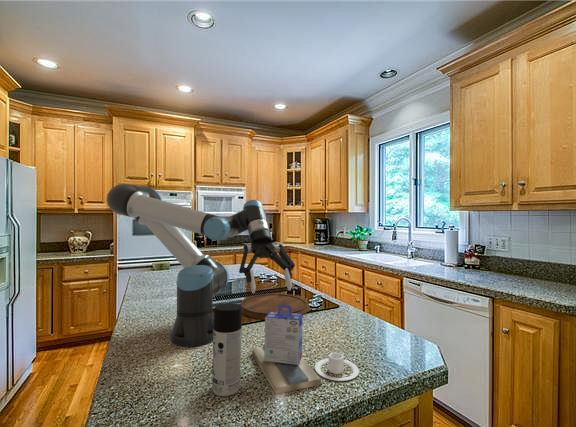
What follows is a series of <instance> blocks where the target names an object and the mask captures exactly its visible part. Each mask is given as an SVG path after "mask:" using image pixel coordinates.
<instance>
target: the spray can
mask: <svg viewBox="0 0 576 427" xmlns="http://www.w3.org/2000/svg"><path fill="white" fill-rule="evenodd" d="M213 309H214V312H213V317H214V327H213V328H214V332H213V341H212V378H211V380H212V383H211V389H212V393H213V394H214V395H215V396H217V397H220V398H227V397H229V398H230V397H232V396H234V395H235V394H237V393H238V392H239V391H240V388H241V366H242V365H241V364H242V361H241V360H242V329H243V328H242V326H243V322H242V321H243V319H242V318H243V314H242V307H241V305H240V303H238V304H237V303H221V304H217V305H215V307H214V308H213Z"/></svg>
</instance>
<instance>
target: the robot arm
mask: <svg viewBox="0 0 576 427" xmlns="http://www.w3.org/2000/svg"><path fill="white" fill-rule="evenodd" d="M106 203H107V206H108V208H109V209H110V211H112V212H113V213H115V214H116V215H120V216H125V217H129V218H133V219H134V220H135V221H136V222H137V223H138V224H139V225H142V226H144V225H145V226H146V227H147V229H149V230H150V231H151V232H152V233H153V234H154V236H155V238H157V239H158V240H159V241H160V243H161V244H162V245H163V246H164V247H165V248H166V250H168V252H169V253H170V254H171V255H172V256H173V257H174V258H175V260H177V262H178V263H179V264H180V266H182V267H183V268H182V269H181V270H179V271H178V273H177V279H176V318H175V320H174V322H173V326H172V329H171V332H170V341H171V343H172V344H174V345H176V346H180V347H197V346H203V345H205V344H206V345H207V344H209V343H211V342H213V332H214V328H213V327H214V312H213V300H214V299H213V298H214V297H215V296H216V295H218V294H220V293H222V292H223V291H224V289H225V288H226V287H227V286H228V283H229V279H230V275H229V270H228V269H227V267H226V266H225V265H224V264H223V263H221V262H218V261H215V260H214V258H213V257H212V256H211V255H209V254H203V252H201V250H200V249H199V248H198V247H197V246H196V245H195V244H194V242H193V241H192V240H191V238H189V237H188V235H186V233H184V231H183V230H186V231H189V232H192V233H196V234H200V235H203V236H206V238H208V239H210V240H212V241H226V240H229V239H232V238H234V237H236V236H237V235H240V234H241V233H244V232H247V233H248V237H249V242H250V246H248V245H247V244H244V245H243V248H242V259H241V262H240V267H239V271H238V273H239V274H244V276H245V280H246V282H247V283H248V284H250V288H251V289H250V290H251V293H252V294H255V293H256V290H257V286H256V281H255V276H254V270H253V269H252V268H254V264H255V263H256V261H257V260H258V258H259V259H264V258H265V259H270V260H271V261H273V262H275V264H277V266H278V267H280V268H281V269H282V270H283V276H284V281H285V284H286V287H287V291H291V290H292V288H293V281H292V279H293V273H292V271H294V268H295V266H296V265H295V263H294V262H293V260H292V259H291V258H290V256H289V254H287V252H286V251H285V249H284V246H283V244H281V243H279V244H278V245H275V244H274V243H273V240H272V236H271V235H272V234H271V232H270V231H271V230H270V228H269V223H268V221H267V216H266V212H265V209H264V207H263V203H262V202H261V201H259V200H257V199H250V200H247V201H246V202H245V203H243V208H242V210H240V211H239V212H237V213H234V214H232V215H229V216H221V215H220V216H219V215H216V214H213V213H212V214H211V213H208V212H205V211H202V210H201V211H200V210H197V209H194V208H191V207H187V206H182V205H179V204H176V203H172V202H170V201H169V202H168V201H165V200H162V196H161V193H159V192H158V191H157V190H156V189H155V188H153V187H149V186H147V185H137V184H136V185H135V184H129V183H119V184H117V185H114V186H113V187H111V188H110V189H109V191H108V193H107V195H106ZM250 252H252V253H253V256H252V257H251V259H250V261H249V263H248V264H247V266H246V267H245V265H246V261H247V257H248V254H249V253H250Z"/></svg>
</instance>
